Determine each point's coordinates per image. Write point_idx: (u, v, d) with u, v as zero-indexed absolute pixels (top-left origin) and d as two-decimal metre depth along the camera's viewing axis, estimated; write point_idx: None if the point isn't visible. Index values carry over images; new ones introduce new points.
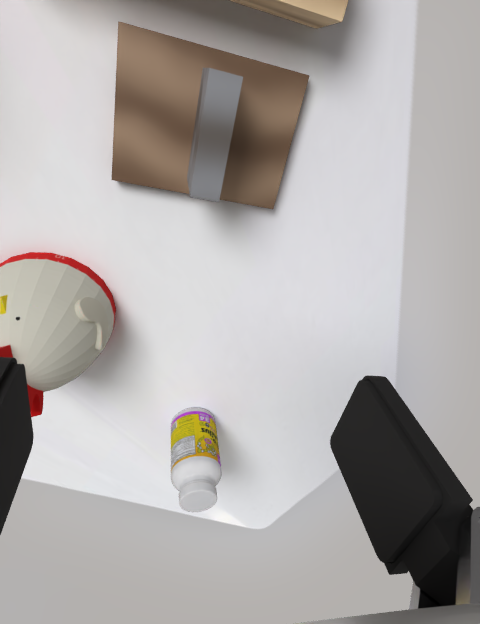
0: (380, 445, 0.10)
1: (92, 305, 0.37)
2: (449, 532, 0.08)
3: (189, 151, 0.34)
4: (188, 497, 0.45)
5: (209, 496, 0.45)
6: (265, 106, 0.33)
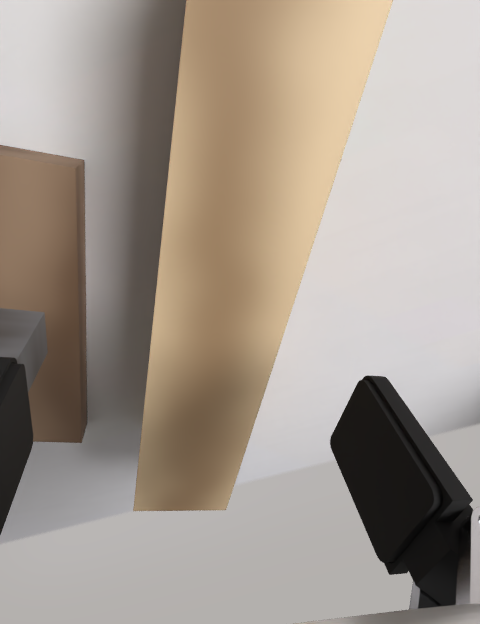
0: (380, 445, 0.10)
1: None
2: (450, 532, 0.08)
3: None
4: None
5: None
6: None
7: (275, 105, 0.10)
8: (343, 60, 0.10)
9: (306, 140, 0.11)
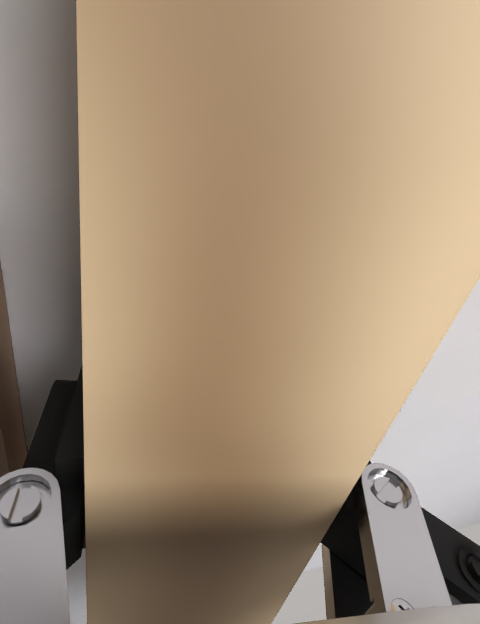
0: None
1: None
2: None
3: None
4: None
5: None
6: None
7: (359, 139, 0.04)
8: None
9: (424, 219, 0.04)
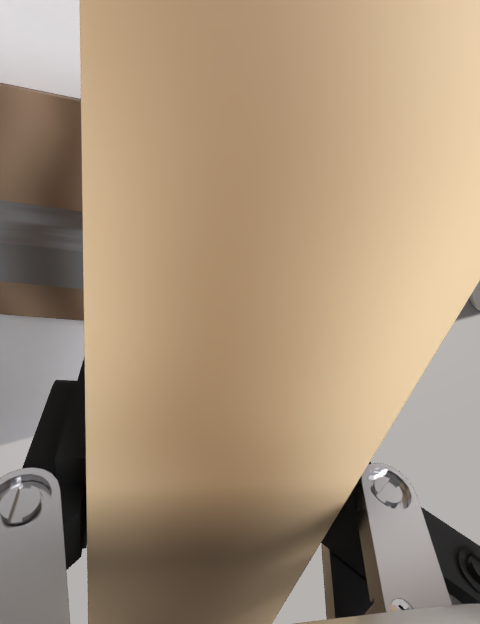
0: None
1: None
2: None
3: (31, 203, 0.25)
4: None
5: None
6: None
7: (362, 138, 0.04)
8: None
9: (426, 219, 0.04)
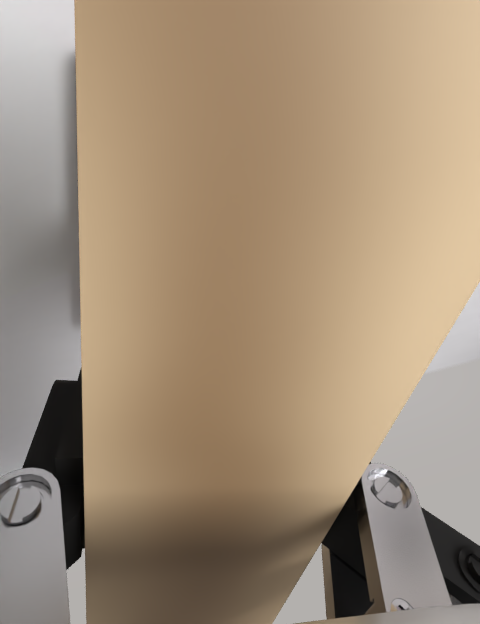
0: None
1: None
2: None
3: None
4: None
5: None
6: None
7: (362, 137, 0.04)
8: None
9: (426, 219, 0.04)
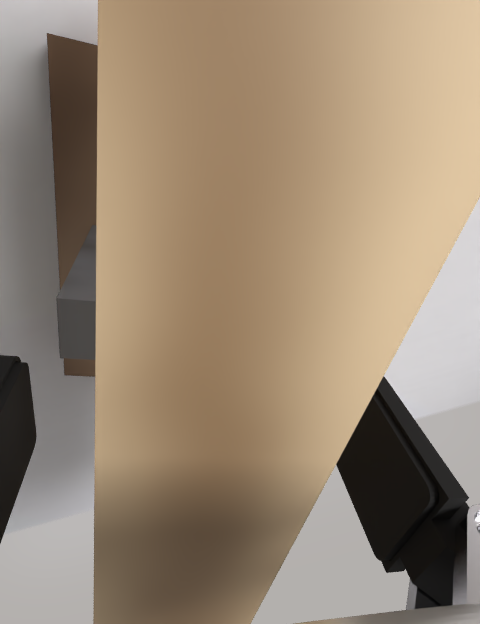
0: (377, 443, 0.10)
1: None
2: (446, 529, 0.08)
3: None
4: None
5: None
6: None
7: (337, 128, 0.04)
8: None
9: (396, 200, 0.05)
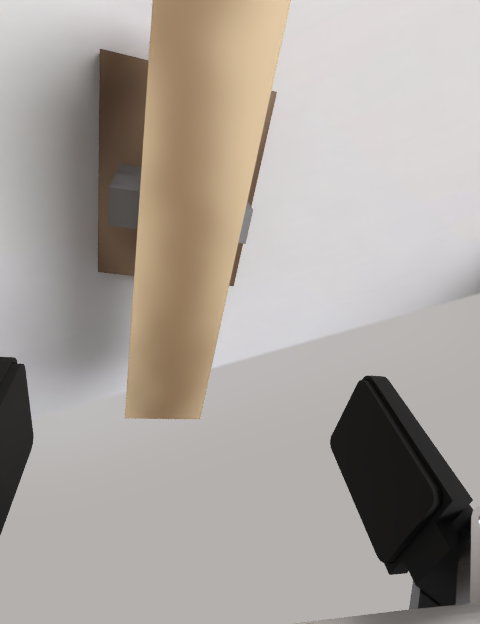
0: (380, 445, 0.10)
1: None
2: (449, 532, 0.08)
3: None
4: None
5: None
6: None
7: (215, 85, 0.15)
8: (258, 55, 0.15)
9: (238, 109, 0.16)
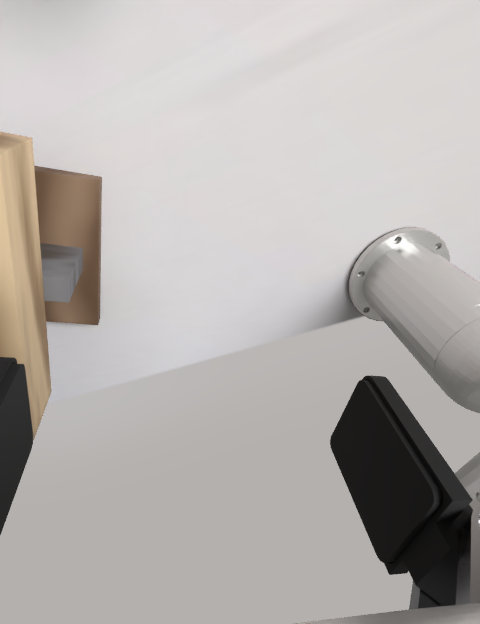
0: (380, 445, 0.10)
1: None
2: (449, 532, 0.08)
3: None
4: None
5: None
6: None
7: None
8: None
9: None
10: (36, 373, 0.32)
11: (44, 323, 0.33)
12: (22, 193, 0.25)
